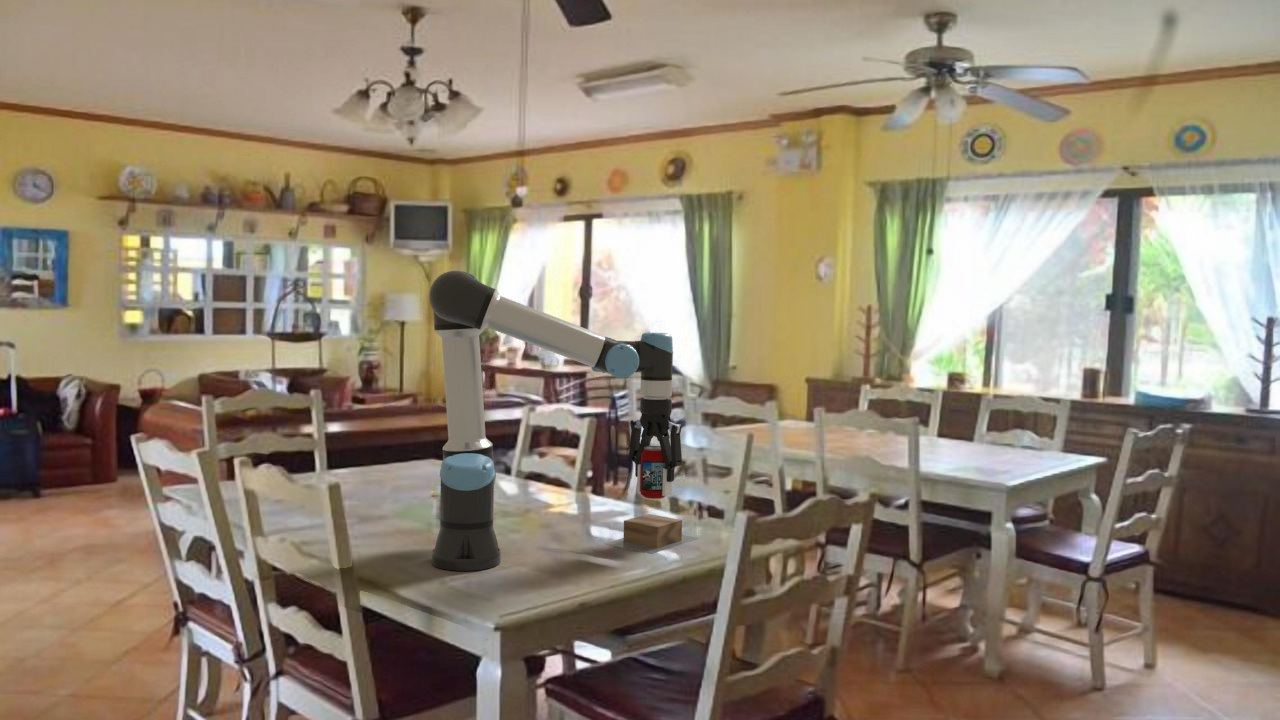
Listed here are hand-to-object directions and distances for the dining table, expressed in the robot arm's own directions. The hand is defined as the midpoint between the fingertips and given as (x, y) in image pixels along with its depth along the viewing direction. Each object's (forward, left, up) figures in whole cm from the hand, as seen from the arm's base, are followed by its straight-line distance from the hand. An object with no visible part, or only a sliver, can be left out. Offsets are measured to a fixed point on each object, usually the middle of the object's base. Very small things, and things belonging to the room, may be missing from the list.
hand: (654, 492), depth 243 cm
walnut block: (0, 0, -12) cm, 12 cm away
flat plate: (0, 0, -13) cm, 13 cm away
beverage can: (0, 0, -1) cm, 1 cm away
